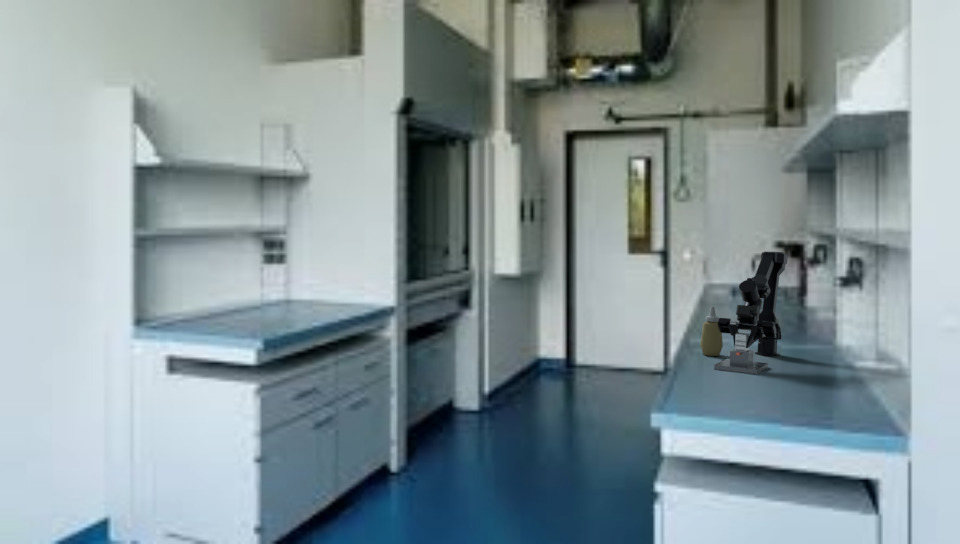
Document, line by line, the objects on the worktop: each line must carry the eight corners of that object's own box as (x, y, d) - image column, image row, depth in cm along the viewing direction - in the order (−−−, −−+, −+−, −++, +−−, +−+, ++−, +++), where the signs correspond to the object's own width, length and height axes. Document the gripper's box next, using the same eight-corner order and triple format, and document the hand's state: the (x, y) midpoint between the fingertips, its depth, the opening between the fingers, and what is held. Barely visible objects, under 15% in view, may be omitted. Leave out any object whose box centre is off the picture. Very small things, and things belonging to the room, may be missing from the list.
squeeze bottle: (725, 357, 276) (726, 308, 275) (703, 356, 276) (704, 308, 275) (718, 353, 284) (720, 305, 283) (697, 352, 284) (698, 305, 283)
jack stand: (726, 362, 265) (727, 346, 264) (768, 367, 257) (768, 350, 256) (714, 369, 253) (714, 351, 253) (756, 374, 245) (757, 356, 245)
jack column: (737, 362, 257) (738, 332, 257) (748, 363, 255) (749, 333, 255) (734, 363, 254) (735, 334, 254) (745, 364, 252) (746, 335, 252)
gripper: (719, 294, 262) (708, 329, 254) (775, 298, 251) (765, 334, 243) (725, 314, 269) (715, 349, 261) (780, 318, 258) (771, 355, 250)
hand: (740, 346), depth 253 cm, fingers closed on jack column, 4 cm apart
